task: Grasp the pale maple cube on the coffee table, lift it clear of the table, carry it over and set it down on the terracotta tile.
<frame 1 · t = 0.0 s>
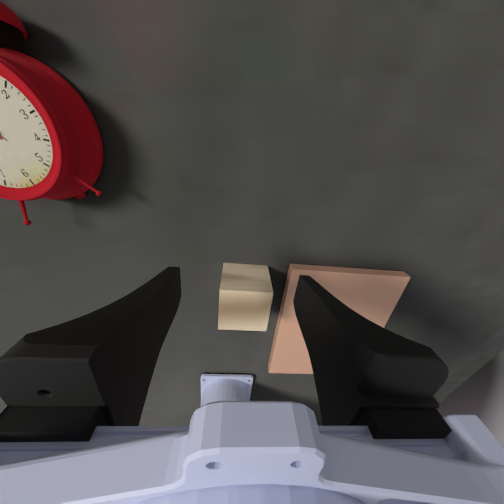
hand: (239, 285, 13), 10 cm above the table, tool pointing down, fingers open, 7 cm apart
terracotta tile: (327, 324, 29), on the table
maple cube: (243, 282, 25), on the table
alarm clock: (24, 111, 17), on the table
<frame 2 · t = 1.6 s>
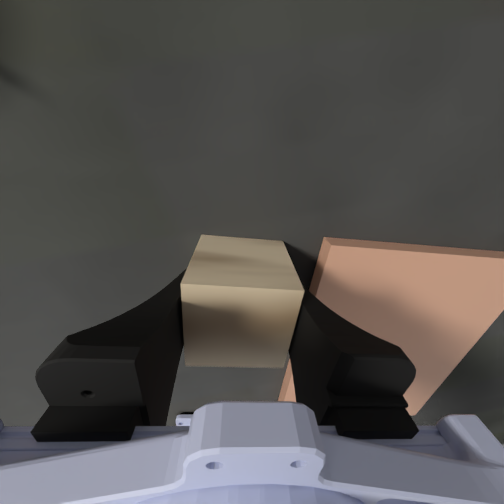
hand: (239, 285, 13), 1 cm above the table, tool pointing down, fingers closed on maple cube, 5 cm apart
terracotta tile: (376, 341, 18), on the table
maple cube: (239, 272, 14), on the table, touching gripper
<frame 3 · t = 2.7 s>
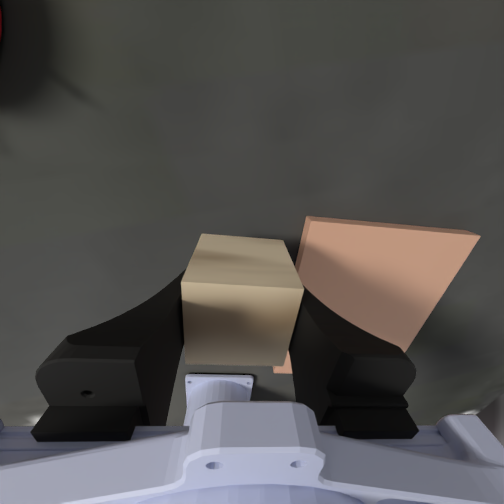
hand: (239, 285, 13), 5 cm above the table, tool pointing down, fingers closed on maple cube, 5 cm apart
terracotta tile: (353, 307, 21), on the table
maple cube: (239, 271, 14), point 4 cm above the table, touching gripper
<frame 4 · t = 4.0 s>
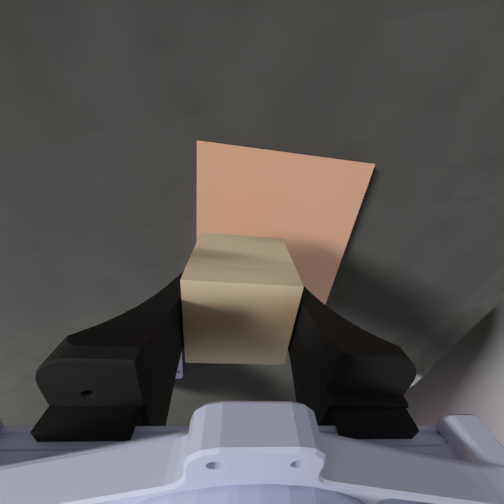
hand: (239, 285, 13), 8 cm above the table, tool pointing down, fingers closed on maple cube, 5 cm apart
terracotta tile: (269, 250, 21), on the table
maple cube: (239, 269, 14), point 7 cm above the table, touching gripper
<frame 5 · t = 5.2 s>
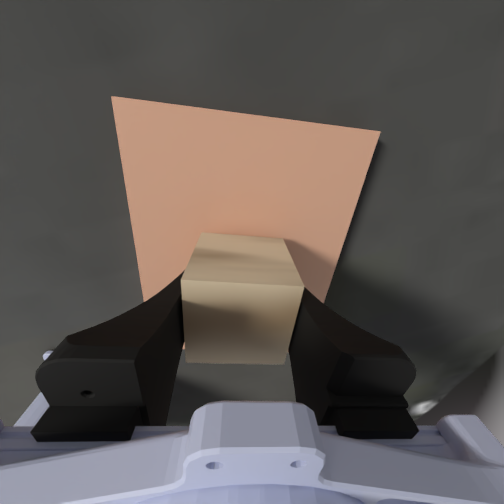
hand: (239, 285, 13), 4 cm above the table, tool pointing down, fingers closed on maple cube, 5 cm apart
terracotta tile: (239, 256, 16), on the table
maple cube: (239, 269, 14), point 2 cm above the table, touching gripper
when the fingers open (4 cm above the table, at t = 6.1 s): maple cube stays where it is, resting on terracotta tile.
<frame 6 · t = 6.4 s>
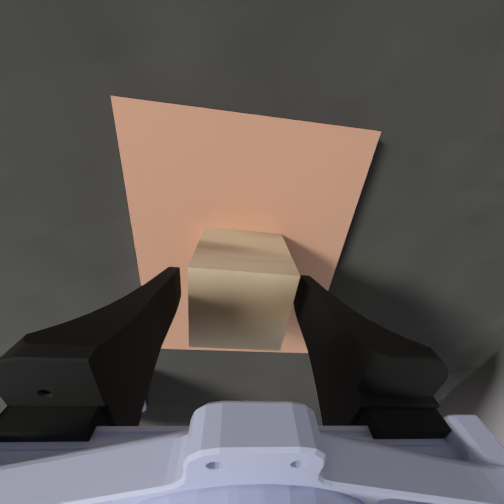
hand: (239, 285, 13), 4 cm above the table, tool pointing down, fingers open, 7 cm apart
terracotta tile: (240, 256, 16), on the table
maple cube: (240, 263, 15), point 1 cm above the table, touching terracotta tile
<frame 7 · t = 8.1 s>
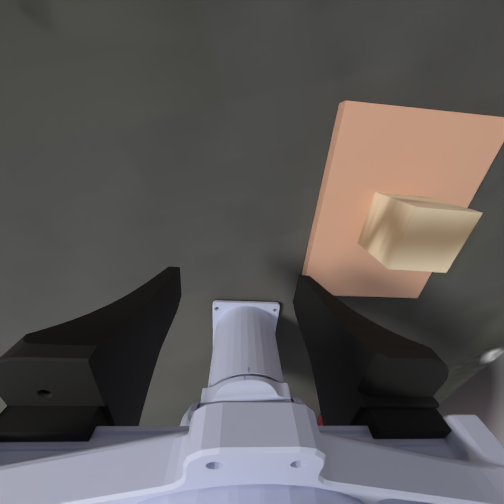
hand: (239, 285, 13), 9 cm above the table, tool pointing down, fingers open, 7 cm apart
terracotta tile: (382, 218, 21), on the table
maple cube: (390, 220, 20), point 1 cm above the table, touching terracotta tile
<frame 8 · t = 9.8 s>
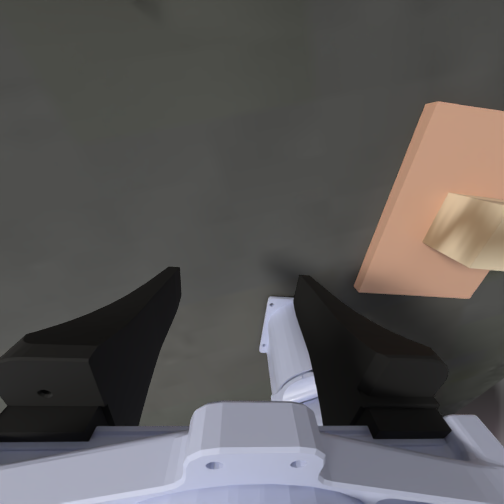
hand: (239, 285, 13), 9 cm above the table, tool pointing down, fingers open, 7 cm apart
terracotta tile: (446, 218, 22), on the table
maple cube: (457, 221, 21), point 1 cm above the table, touching terracotta tile
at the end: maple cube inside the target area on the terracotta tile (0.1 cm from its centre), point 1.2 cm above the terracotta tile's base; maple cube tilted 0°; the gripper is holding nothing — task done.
